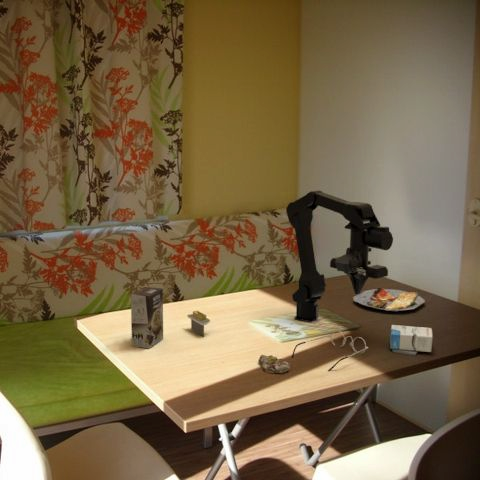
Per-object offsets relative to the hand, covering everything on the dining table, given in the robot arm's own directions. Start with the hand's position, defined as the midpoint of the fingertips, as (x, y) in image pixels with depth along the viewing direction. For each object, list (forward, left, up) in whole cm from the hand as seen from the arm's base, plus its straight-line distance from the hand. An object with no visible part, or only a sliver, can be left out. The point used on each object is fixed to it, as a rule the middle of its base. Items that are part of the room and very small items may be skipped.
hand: (357, 294), depth 216 cm
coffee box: (-54, -35, -13) cm, 66 cm away
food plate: (+2, +37, -14) cm, 39 cm away
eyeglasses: (-1, -21, -14) cm, 25 cm away
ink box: (+12, -6, -10) cm, 17 cm away
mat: (+17, -5, -13) cm, 22 cm away
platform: (-44, -20, -14) cm, 51 cm away
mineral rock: (-13, -36, -14) cm, 40 cm away
